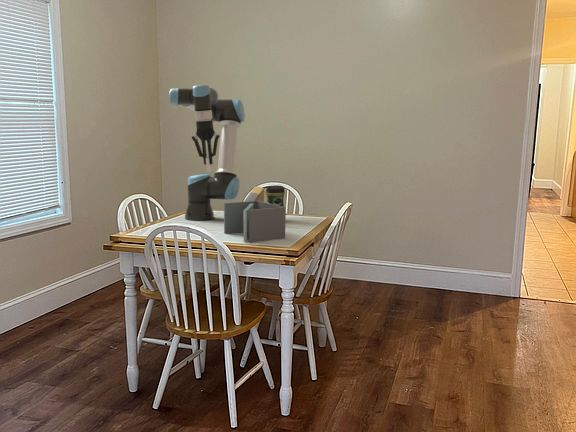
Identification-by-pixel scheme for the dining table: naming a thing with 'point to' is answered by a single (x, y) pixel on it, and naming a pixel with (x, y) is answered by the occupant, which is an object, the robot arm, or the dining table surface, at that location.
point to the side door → (247, 222)
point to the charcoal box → (256, 220)
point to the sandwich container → (256, 195)
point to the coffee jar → (275, 195)
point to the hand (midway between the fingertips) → (209, 171)
